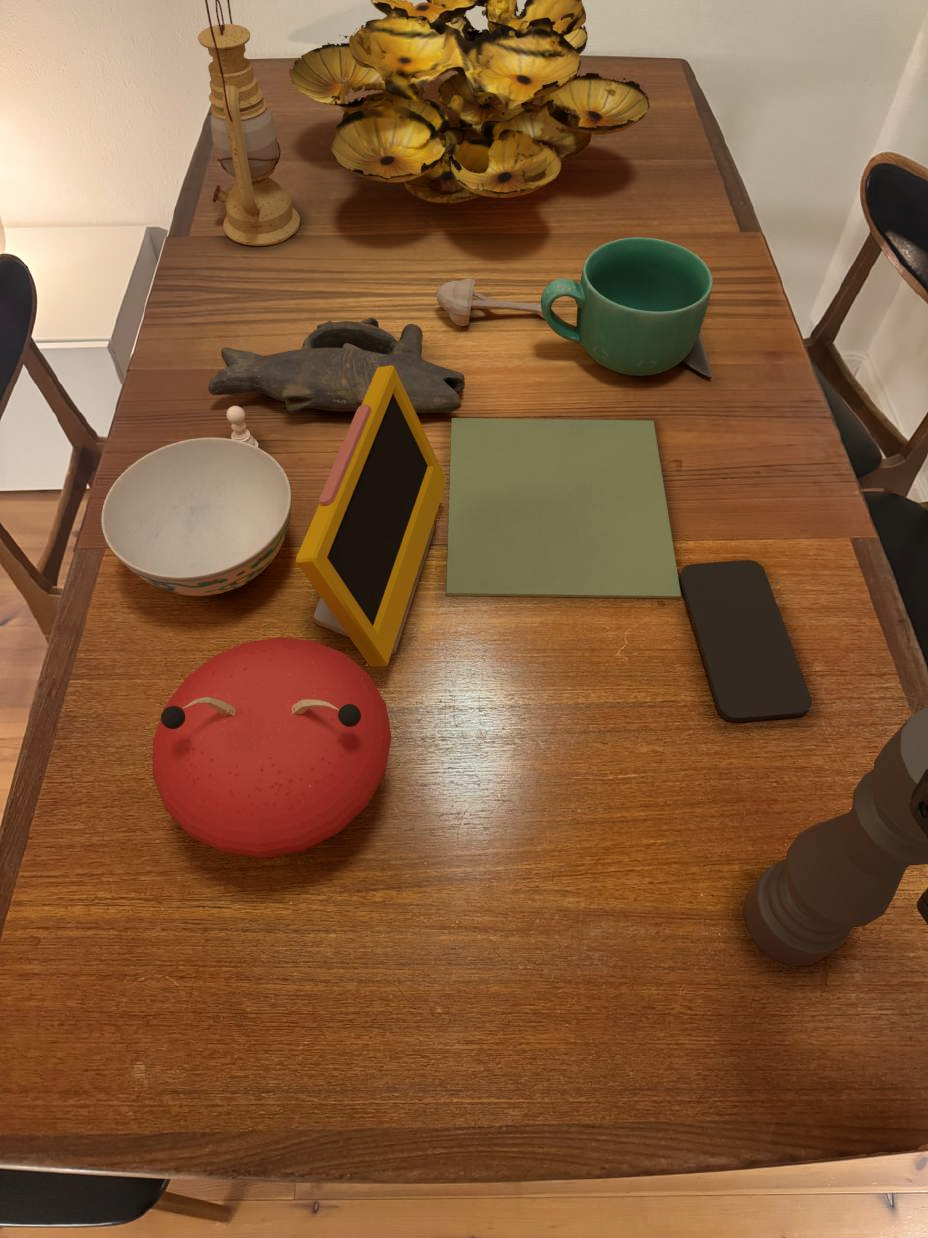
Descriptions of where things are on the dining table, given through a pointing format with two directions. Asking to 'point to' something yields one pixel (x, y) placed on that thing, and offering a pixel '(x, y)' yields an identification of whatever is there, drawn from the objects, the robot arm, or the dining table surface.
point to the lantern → (245, 141)
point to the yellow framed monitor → (374, 522)
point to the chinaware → (199, 515)
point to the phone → (743, 642)
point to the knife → (698, 358)
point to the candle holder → (845, 860)
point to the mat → (558, 510)
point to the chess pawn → (239, 426)
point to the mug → (635, 304)
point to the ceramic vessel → (341, 370)
